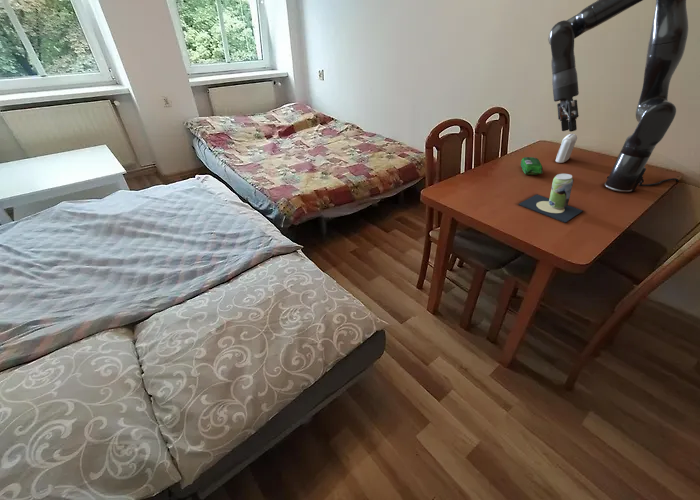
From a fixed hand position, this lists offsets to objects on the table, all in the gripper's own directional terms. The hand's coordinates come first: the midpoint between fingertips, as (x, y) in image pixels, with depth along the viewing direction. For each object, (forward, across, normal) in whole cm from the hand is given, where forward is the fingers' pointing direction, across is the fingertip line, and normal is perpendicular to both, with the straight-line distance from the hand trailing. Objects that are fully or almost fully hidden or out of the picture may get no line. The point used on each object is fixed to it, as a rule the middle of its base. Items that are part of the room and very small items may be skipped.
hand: (569, 130), depth 121 cm
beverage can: (+24, -14, +10) cm, 29 cm away
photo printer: (+17, +39, -7) cm, 43 cm away
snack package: (+16, +20, +11) cm, 28 cm away
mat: (+24, -14, +12) cm, 30 cm away
